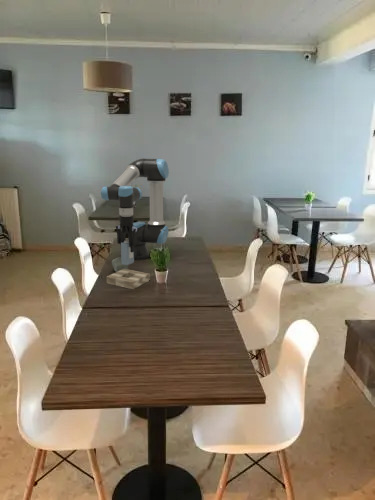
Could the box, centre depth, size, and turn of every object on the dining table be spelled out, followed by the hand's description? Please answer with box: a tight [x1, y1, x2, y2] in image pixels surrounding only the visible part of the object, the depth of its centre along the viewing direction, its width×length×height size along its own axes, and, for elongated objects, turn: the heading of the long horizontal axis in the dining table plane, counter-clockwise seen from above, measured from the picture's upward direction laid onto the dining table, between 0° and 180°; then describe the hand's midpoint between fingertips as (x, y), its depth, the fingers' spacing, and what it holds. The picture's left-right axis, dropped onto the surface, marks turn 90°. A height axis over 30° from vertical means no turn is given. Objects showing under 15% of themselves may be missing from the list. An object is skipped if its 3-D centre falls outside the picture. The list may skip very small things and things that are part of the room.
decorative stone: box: [111, 256, 129, 273], centre depth 252 cm, size 13×11×10 cm
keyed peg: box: [120, 239, 135, 266], centre depth 230 cm, size 4×6×13 cm, turn 151°
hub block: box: [106, 268, 151, 290], centre depth 234 cm, size 16×18×4 cm
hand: (127, 256), depth 230 cm, fingers closed on keyed peg, 4 cm apart
